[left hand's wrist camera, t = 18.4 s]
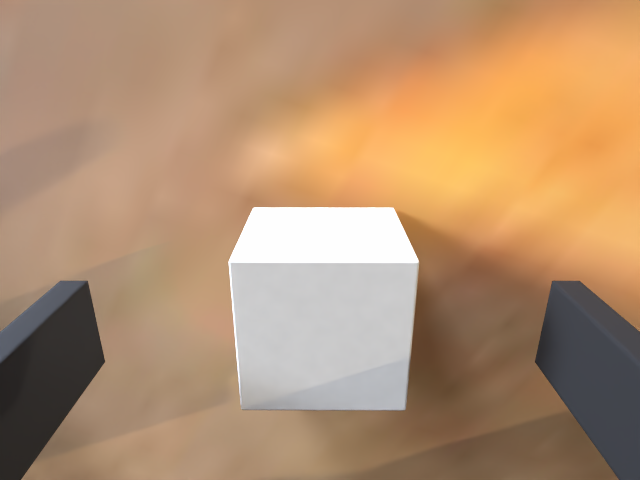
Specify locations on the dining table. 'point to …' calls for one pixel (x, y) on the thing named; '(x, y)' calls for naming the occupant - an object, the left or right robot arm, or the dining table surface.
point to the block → (323, 309)
